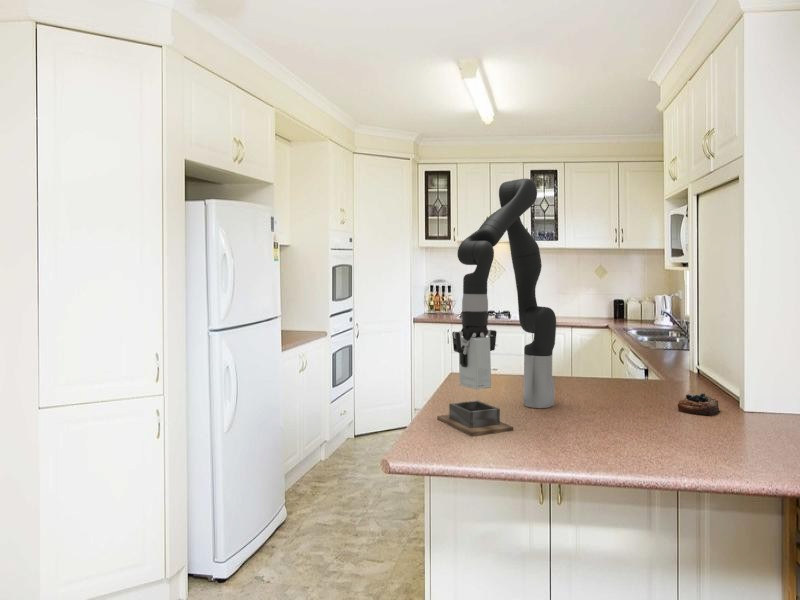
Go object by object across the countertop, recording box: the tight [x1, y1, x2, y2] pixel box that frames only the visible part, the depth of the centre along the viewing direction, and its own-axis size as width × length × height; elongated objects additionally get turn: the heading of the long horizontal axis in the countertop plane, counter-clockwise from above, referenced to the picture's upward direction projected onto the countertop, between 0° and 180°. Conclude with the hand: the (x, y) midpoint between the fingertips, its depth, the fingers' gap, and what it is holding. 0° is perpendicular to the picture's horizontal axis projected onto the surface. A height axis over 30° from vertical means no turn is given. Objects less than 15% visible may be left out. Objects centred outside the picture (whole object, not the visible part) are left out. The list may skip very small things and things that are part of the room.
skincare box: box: [458, 336, 492, 390], centre depth 177 cm, size 8×6×15 cm
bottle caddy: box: [436, 400, 514, 437], centre depth 177 cm, size 14×20×6 cm
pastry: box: [677, 392, 721, 417], centre depth 194 cm, size 11×12×6 cm
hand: (474, 365), depth 177 cm, fingers closed on skincare box, 6 cm apart
